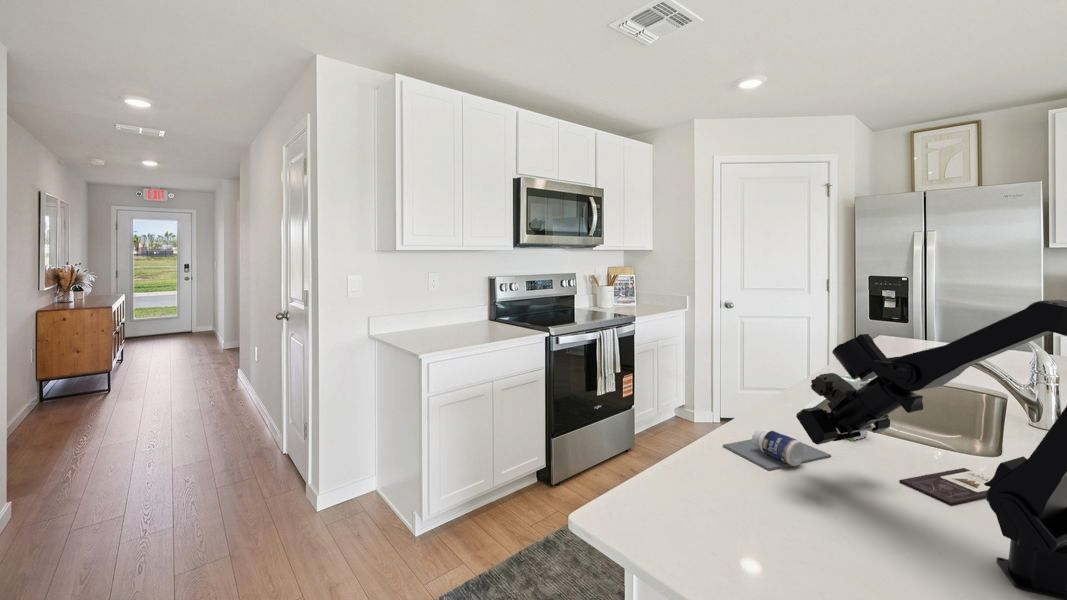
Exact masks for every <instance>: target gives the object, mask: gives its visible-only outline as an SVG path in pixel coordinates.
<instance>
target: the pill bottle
mask: <svg viewBox="0 0 1067 600" xmlns="http://www.w3.org/2000/svg"><path fill="white" fill-rule="evenodd" d="M751 439H752V443H753V444H754V445H755V446H757V447H759V448H760V449H761V451H762V452H763V453H765V454H767V455H769V456H771V457H774V458H776V459H778V460H780V461H783V462H785V463H787V464H790V465H792V466H791V467H796V466H798V465H801V464H800V463H801V462H802V461H803V459H804V457H805V453H806V449H805V445H804V444H805V443H804V442H803V441H801V440H799V439H797V438H793V437H790V436H788V435H786V434H783V433H780V432H779V431H775V430H773V429H769V430H768V429H767V430H764V429H762V428H758V429H756V430H755V431H754V432H753V434H752V437H751ZM803 443H804V444H803Z"/></svg>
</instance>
